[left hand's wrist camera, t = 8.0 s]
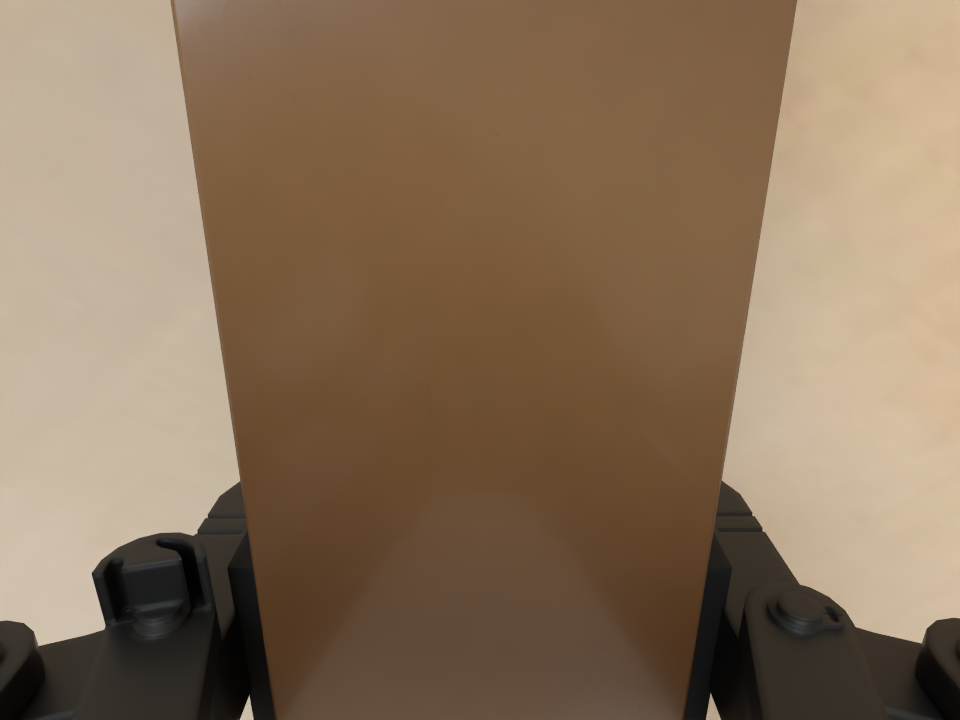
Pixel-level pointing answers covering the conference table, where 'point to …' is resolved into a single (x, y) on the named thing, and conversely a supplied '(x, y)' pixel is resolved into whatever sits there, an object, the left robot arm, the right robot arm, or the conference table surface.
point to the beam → (481, 334)
